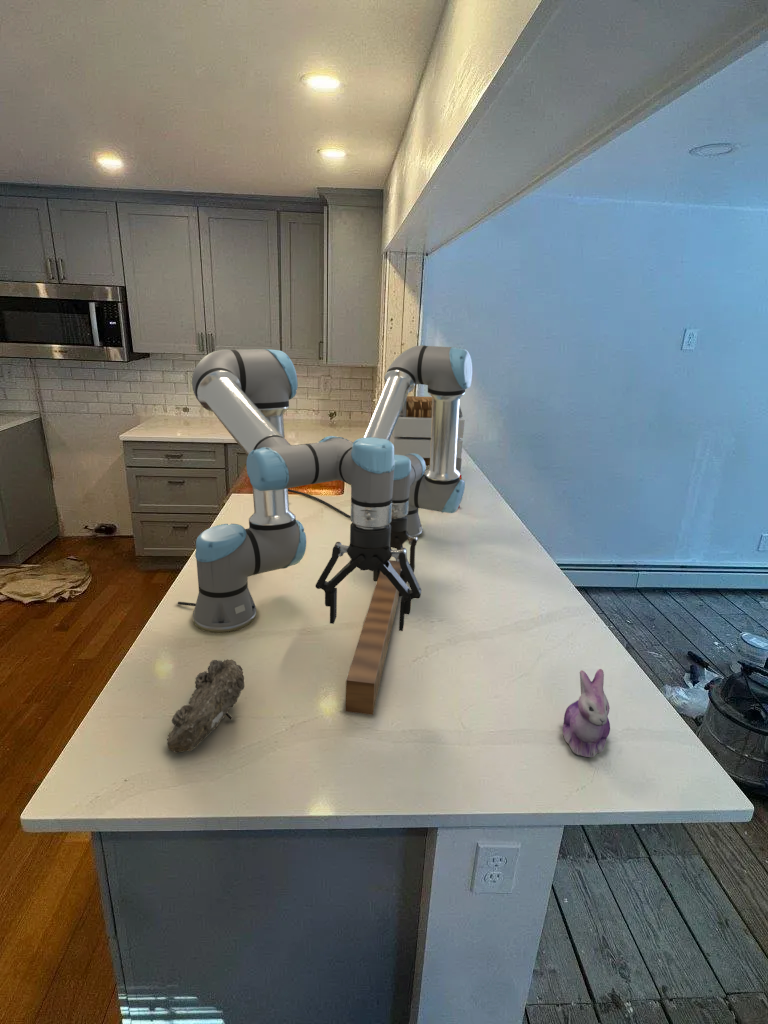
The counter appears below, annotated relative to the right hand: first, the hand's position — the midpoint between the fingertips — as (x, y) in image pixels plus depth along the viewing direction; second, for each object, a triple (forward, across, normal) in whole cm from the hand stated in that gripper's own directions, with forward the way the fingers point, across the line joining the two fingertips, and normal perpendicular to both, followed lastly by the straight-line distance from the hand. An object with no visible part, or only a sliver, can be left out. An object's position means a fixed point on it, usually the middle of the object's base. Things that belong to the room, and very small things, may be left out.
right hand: (389, 592), depth 157 cm
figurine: (0, +43, -50) cm, 66 cm away
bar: (+1, 0, -22) cm, 22 cm away
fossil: (+1, -27, -56) cm, 62 cm away
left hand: (-16, 0, -43) cm, 46 cm away
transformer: (+1, 0, +126) cm, 126 cm away
